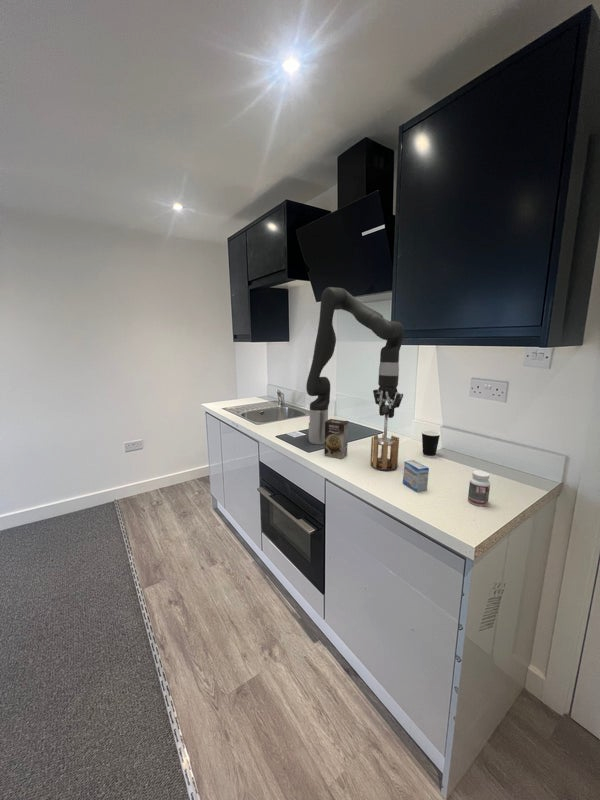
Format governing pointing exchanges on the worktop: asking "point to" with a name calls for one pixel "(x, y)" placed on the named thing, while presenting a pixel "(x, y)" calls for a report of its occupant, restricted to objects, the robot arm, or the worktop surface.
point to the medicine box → (415, 475)
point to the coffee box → (336, 438)
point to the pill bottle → (479, 488)
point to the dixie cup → (430, 443)
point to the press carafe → (384, 455)
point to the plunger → (385, 428)
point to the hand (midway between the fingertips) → (386, 416)
